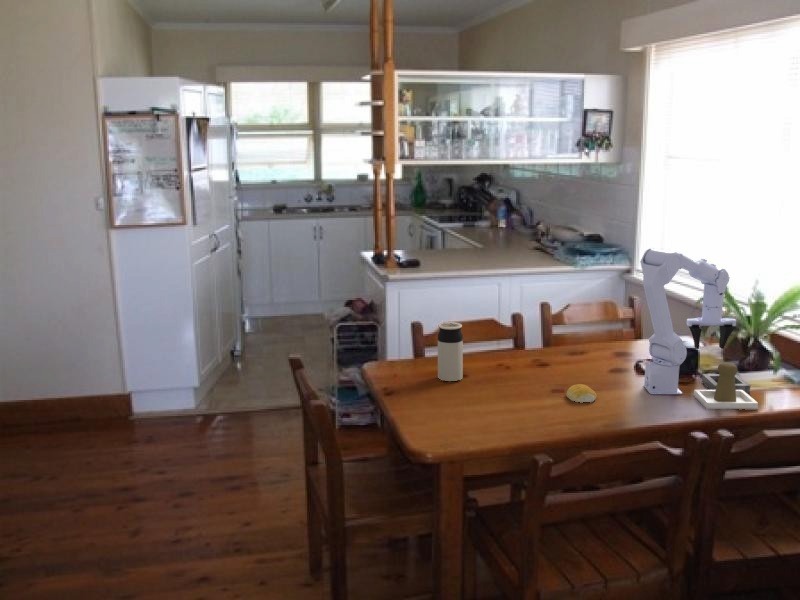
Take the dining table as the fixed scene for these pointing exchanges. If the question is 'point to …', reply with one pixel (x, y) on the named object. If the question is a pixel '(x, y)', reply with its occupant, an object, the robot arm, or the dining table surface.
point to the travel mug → (450, 351)
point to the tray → (710, 404)
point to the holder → (712, 381)
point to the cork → (726, 383)
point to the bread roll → (581, 393)
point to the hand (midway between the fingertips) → (709, 347)
